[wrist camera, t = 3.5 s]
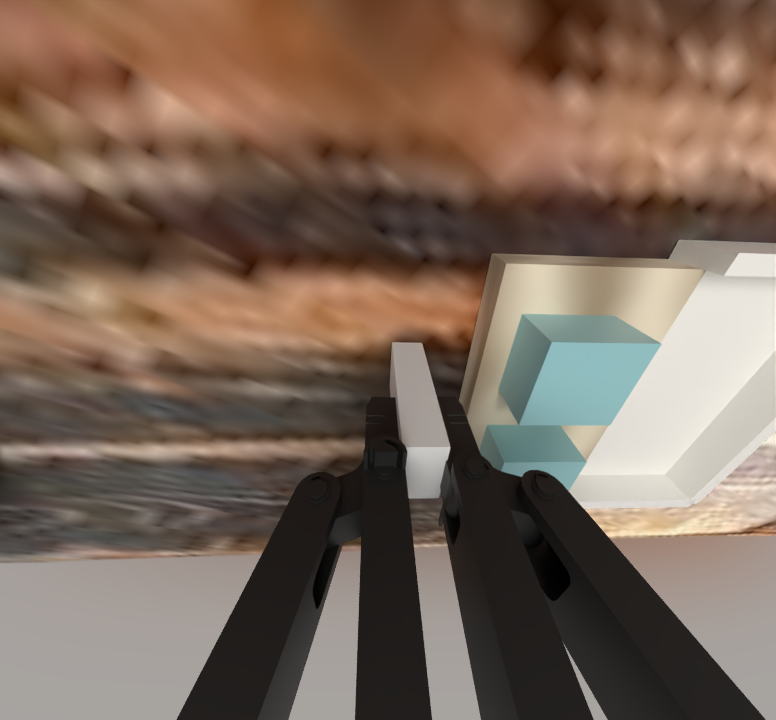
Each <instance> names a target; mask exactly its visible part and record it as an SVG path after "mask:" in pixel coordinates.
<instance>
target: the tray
mask: <svg viewBox="0 0 776 720" xmlns="http://www.w3.org/2000/svg"><path fill="white" fill-rule="evenodd" d="M669 260H672V261H676V262H679V263H683V264H686V265H689V266H693V267H696V268H699V269H703V270H706V272H705V274H704V275H703V277H702V278H701V280H700V282H699V283H698V285H697V286H696V288H695V289H694V291H693V293H692V294H691V296H690V297H689V299H688V301H687V302H686V304H685V305H684V307H683V309H682V310H681V312H680V313H679V315H678V316H677V318H676V320H675V321H674V323H673V324H672V326H671V328H670V329H669V331H668V332H667V334H666V335H665V337H664V339H663V340H662V342H661V346H660V348H659V349H658V351H657V352H656V354H655V355H654V357H653V359H652V360H651V362H650V363H649V365H648V367H647V368H646V370H645V371H644V373H643V374H642V376H641V378H640V379H639V381H638V382H637V384H636V385H635V387H634V389H633V390H632V392H631V393H630V395H629V396H628V398H627V400H626V401H625V403H624V404H623V406H622V408H621V409H620V411H619V412H618V414H617V415H616V417H615V419H614V420H613V422H612V423H611V425H609V426H608V427H607V429H606V431H605V432H604V434H603V435H602V437H601V439H600V440H599V442H598V443H597V445H596V446H595V448H594V450H593V451H592V453H591V454H590V456H589V458H588V459H587V463H586V464H585V466H584V467H583V469H582V471H581V472H580V474H579V475H578V477H577V478H576V480H575V482H574V483H573V485H572V486H571V488H570V490H569V492H570V493H571V495H572V496H573V497H574V498H575V499H576V500H577V502H578V503H579V504H580V505H581V506H582V507H583V509H592V508H651V507H689V506H690V505H691V504H692V503H699V502H700V501H701V500H702V499H703V498H704V497H705V496H706V495H707V494H708V493H709V492H711V491H712V490H713V489H714V488H715V487H716V486H717V485H718V484H719V483H720V482H721V481H722V480H724V479H725V478H726V477H727V476H728V475H729V474H730V473H731V472H732V471H733V470H734V469H735V468H737V467H738V466H739V465H740V464H741V463H742V462H743V461H744V460H745V459H746V458H747V457H748V456H749V455H751V454H752V453H753V452H754V451H755V450H756V449H757V448H758V447H759V446H760V445H761V444H762V443H764V442H765V441H766V440H767V439H768V438H769V437H770V436H771V435H772V434H773V433H774V432H775V431H776V243H756V242H729V241H702V240H678V242H677V244H676V246H675V248H674V249H673V251H672V253H671V255H670V257H669Z"/></svg>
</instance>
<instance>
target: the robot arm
mask: <svg viewBox="0 0 776 720" xmlns="http://www.w3.org/2000/svg"><path fill="white" fill-rule="evenodd" d="M440 490H441V494H442V499H443V505H442V509H441V513H440V517H439V526H442V524H444V529H445V534H446V539H447V544H448V549H449V555H450V560H451V565H452V570H453V575H454V581H455V586H456V591H457V596H458V601H459V607H460V612H461V617H462V622H463V627H464V633H465V638H466V643H467V648H468V654H469V659H470V664H471V669H472V674H473V680H474V685H475V690H476V695H477V700H478V705H479V711H480V716H481V720H593V717H592V714H591V712H590V710H589V707H588V705H587V702H586V700H585V697H584V694H583V692H582V689H581V687H580V684H579V682H578V679H577V677H576V674H575V672H574V669H573V667H572V664H571V662H570V659H569V657H568V654H567V652H566V649H565V647H564V644H565V646H566V648H567V650H568V651H569V653H570V655H571V657H572V658H573V660H574V662H575V664H576V665H577V667H578V669H579V670H580V672H581V674H582V676H583V677H584V679H585V681H586V683H587V684H588V686H589V688H590V689H591V691H592V693H593V695H594V697H595V698H596V700H597V702H598V703H599V705H600V707H601V709H602V710H603V712H604V714H605V716H606V717H607V719H608V720H765V718H764V717H763V716H762V715H761V714H760V713H759V711H758V710H757V709H756V708H755V707H754V706H753V704H752V703H751V702H750V701H749V700H748V699H747V698H746V696H745V695H744V694H743V693H742V692H741V691H740V689H738V687H737V686H736V685H735V684H734V683H733V681H732V680H731V679H730V678H729V677H728V675H727V674H726V673H725V672H724V671H723V670H722V669H721V667H720V666H719V665H718V664H717V663H716V662H715V660H714V659H713V658H712V657H711V656H710V655H709V654H708V652H707V651H706V650H705V649H704V648H703V647H702V645H701V644H700V643H699V642H698V641H697V640H696V638H695V637H694V636H693V635H692V634H691V633H690V631H689V630H688V629H687V628H686V627H685V626H684V624H683V623H682V622H681V621H680V620H679V619H678V618H677V617H676V615H675V614H674V613H673V612H672V611H671V609H670V608H669V607H668V606H667V605H666V604H665V603H664V601H663V600H662V599H661V598H660V597H659V596H658V595H657V593H656V592H655V591H654V590H653V589H652V588H651V586H650V585H649V584H648V583H647V582H646V580H645V579H644V578H643V577H642V576H641V575H640V573H639V572H638V571H637V570H636V569H635V568H634V567H633V565H632V564H631V563H630V562H629V561H628V560H627V558H626V557H625V556H624V555H623V554H622V553H621V551H620V550H619V549H618V548H617V547H616V546H615V545H614V543H613V542H612V541H611V540H610V539H609V537H608V536H607V535H606V534H605V533H604V532H603V531H602V529H601V528H600V527H599V526H598V525H597V524H596V522H595V521H594V520H593V519H592V518H591V517H590V515H589V514H588V513H587V512H586V511H585V510H584V509H583V507H582V506H581V505H580V504H579V503H578V502H577V500H576V499H575V498H574V497H573V496H572V495H571V493H570V492H569V491H568V490H567V489H566V488H565V486H564V485H563V484H562V483H561V482H560V481H559V480H558V479H556V478H555V477H554V476H552V475H550V474H549V473H547V472H544V471H540V470H529V471H527V472H525V473H524V474H523V476H522V477H520V476H516V475H513V474H509V473H505V472H502V471H500V470H497V469H496V468H494V467H492V465H491V463H490V462H489V461H488V460H487V459H485V458H484V457H483V456H482V455H481V453H480V451H479V448H478V446H477V443H476V440H475V438H474V435H473V432H472V430H471V427H470V424H469V422H468V419H467V416H466V414H465V411H464V408H463V406H462V404H461V403H460V402H459V401H458V400H457V399H456V398H455V397H437V396H436V392H435V389H434V385H433V381H432V378H431V374H430V371H429V367H428V363H427V360H426V356H425V352H424V349H423V345H422V343H400V342H392V353H391V371H390V397H372V398H371V399H370V401H369V403H368V404H367V409H366V436H365V449H364V460H363V462H362V464H361V465H360V466H359V467H358V468H357V469H355V470H354V471H353V472H350V473H348V474H345V475H342V476H339V477H335V476H334V475H332V474H329V473H327V472H317V473H314V474H310V475H309V476H307V477H306V478H304V479H303V480H302V481H301V482H300V483H299V485H298V486H297V488H296V490H295V492H294V493H293V495H292V497H291V499H290V501H289V503H288V505H287V507H286V509H285V511H284V513H283V515H282V517H281V519H280V521H279V522H278V524H277V526H276V528H275V530H274V532H273V534H272V536H271V538H270V540H269V542H268V544H267V546H266V548H265V550H264V551H263V553H262V555H261V557H260V559H259V561H258V563H257V565H256V567H255V569H254V571H253V573H252V575H251V577H250V579H249V581H248V582H247V584H246V586H245V588H244V590H243V592H242V594H241V596H240V598H239V600H238V602H237V604H236V606H235V608H234V610H233V612H232V614H231V615H230V617H229V619H228V621H227V623H226V625H225V627H224V629H223V631H222V633H221V635H220V637H219V639H218V640H217V642H216V644H215V646H214V648H213V650H212V652H211V654H210V656H209V658H208V660H207V662H206V664H205V666H204V668H203V670H202V671H201V673H200V675H199V677H198V679H197V681H196V683H195V685H194V687H193V689H192V691H191V693H190V695H189V697H188V698H187V701H186V702H185V705H184V706H183V708H182V710H181V712H180V714H179V716H178V718H177V720H288V718H289V715H290V712H291V709H292V706H293V703H294V699H295V696H296V693H297V690H298V686H299V683H300V680H301V677H302V674H303V670H304V667H305V664H306V661H307V658H308V654H309V651H310V648H311V645H312V642H313V638H314V635H315V632H316V629H317V625H318V622H319V619H320V616H321V613H322V609H323V606H324V603H325V600H326V596H327V593H328V590H329V587H330V584H331V581H332V577H333V574H334V571H335V568H336V564H337V561H338V558H339V555H340V552H341V548H342V545H343V543H345V542H348V541H350V540H353V539H355V538H358V537H360V536H361V565H360V593H359V595H360V596H359V622H358V651H357V680H356V709H355V720H432V716H431V706H430V696H429V687H428V678H427V668H426V658H425V649H424V640H423V630H422V621H421V611H420V603H419V592H418V584H417V573H416V565H415V556H414V555H415V554H414V545H413V535H412V526H411V516H410V507H409V498H439V495H440ZM562 641H563V642H562ZM563 643H564V644H563Z"/></svg>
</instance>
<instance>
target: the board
mask: <svg viewBox="0 0 776 720" xmlns="http://www.w3.org/2000/svg"><path fill="white" fill-rule="evenodd" d="M705 272H706V270H703V269H699V268H696V267H693V266H689V265H686V264H683V263H679V262H676V261H672V260H669V259H646V258H615V257H584V256H554V255H523V254H492V255H491V259H490V264H489V268H488V273H487V277H486V282H485V286H484V291H483V295H482V299H481V304H480V308H479V313H478V317H477V322H476V326H475V331H474V335H473V339H472V344H471V348H470V353H469V357H468V362H467V366H466V371H465V375H464V379H463V384H462V388H461V393H460V397H459V402H460V403H461V404H462V406H463V408H464V411H465V414H466V416H467V419H468V422H469V424H470V427H471V430H472V432H473V435H474V438H475V440H476V443H477V446H478V448H479V450H480V446H481V443H482V440H483V437H484V434H485V430H486V427H487V425H518V423H517V421H516V420H515V418H514V416H513V414H512V413H511V411H510V409H509V407H508V406H507V404H506V402H505V400H504V399H503V397H502V395H501V393H500V392H499V390H498V389H499V386H500V383H501V379H502V376H503V373H504V370H505V367H506V363H507V360H508V357H509V354H510V351H511V347H512V344H513V341H514V338H515V335H516V332H517V328H518V325H519V322H520V319H521V316H522V314H560V315H608V316H616V317H618V318H619V319H621V320H623V321H624V322H626V323H628V324H629V325H631V326H633V327H634V328H636V329H638V330H639V331H641V332H643V333H644V334H646V335H648V336H649V337H651V338H653V339H654V340H656V341H658V342H659V343H661V342H662V340H663V339H664V337H665V335H666V334H667V332H668V331H669V329H670V328H671V326H672V324H673V323H674V321H675V320H676V318H677V316H678V315H679V313H680V312H681V310H682V309H683V307H684V305H685V304H686V302H687V301H688V299H689V297H690V296H691V294H692V293H693V291H694V289H695V288H696V286H697V285H698V283H699V282H700V280H701V278H702V277H703V275H704V274H705ZM560 426H561V427H562V429H563V430H564V431H565V433H566V434H567V435H568V437H569V438H570V439H571V441H572V442H573V444H574V445H575V446H576V448H577V449H578V450H579V452H580V453H581V454H582V456H583V457H584V459H585V460H586V461H587V459H588V458H589V456H590V454H591V453H592V451H593V450H594V448H595V446H596V445H597V443H598V442H599V440H600V439H601V437H602V435H603V434H604V432H605V431H606V429H607V427H608V426H609V425H560Z"/></svg>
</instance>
